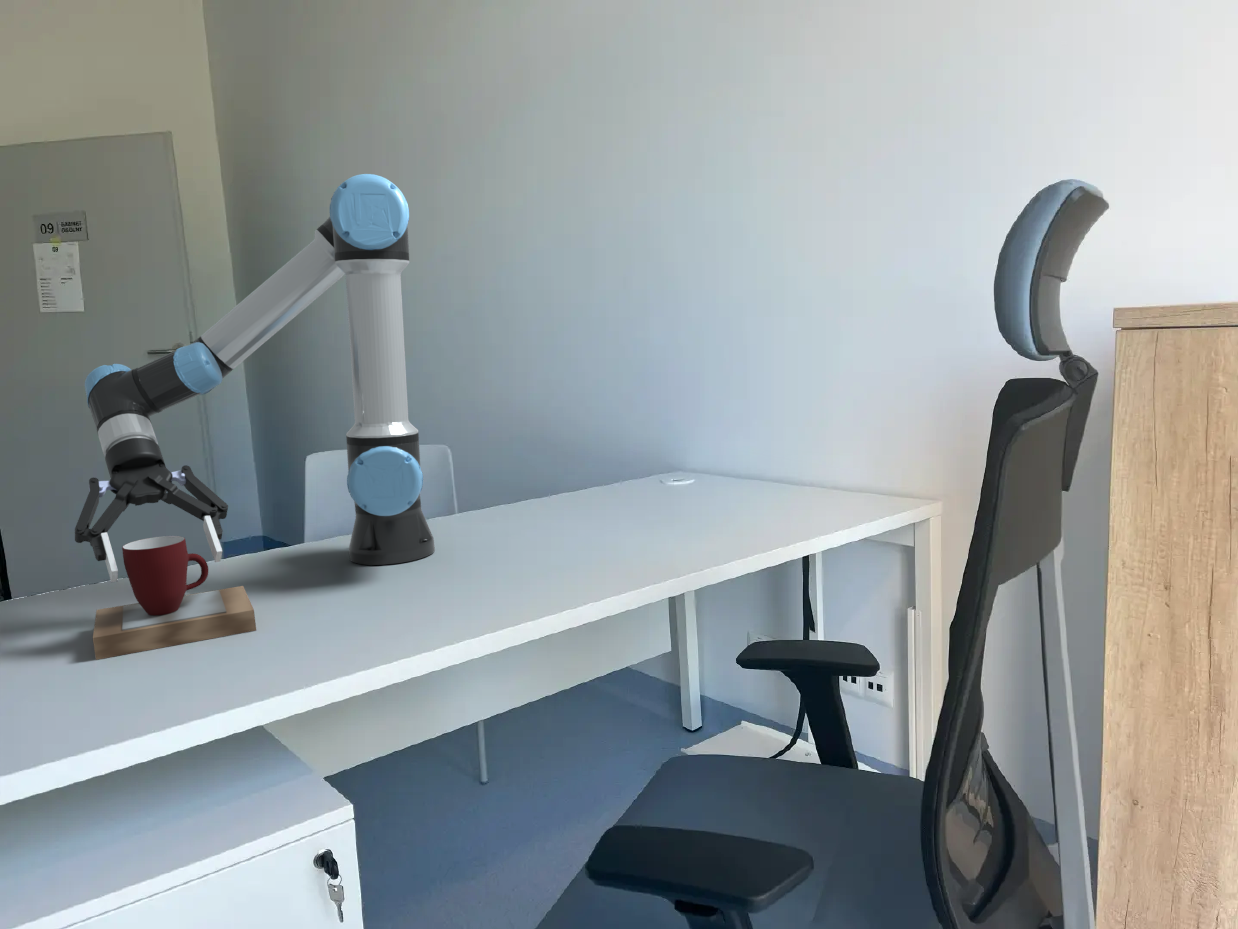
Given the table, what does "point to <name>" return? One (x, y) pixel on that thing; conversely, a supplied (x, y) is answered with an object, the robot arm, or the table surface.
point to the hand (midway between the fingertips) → (168, 566)
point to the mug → (160, 572)
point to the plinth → (172, 623)
